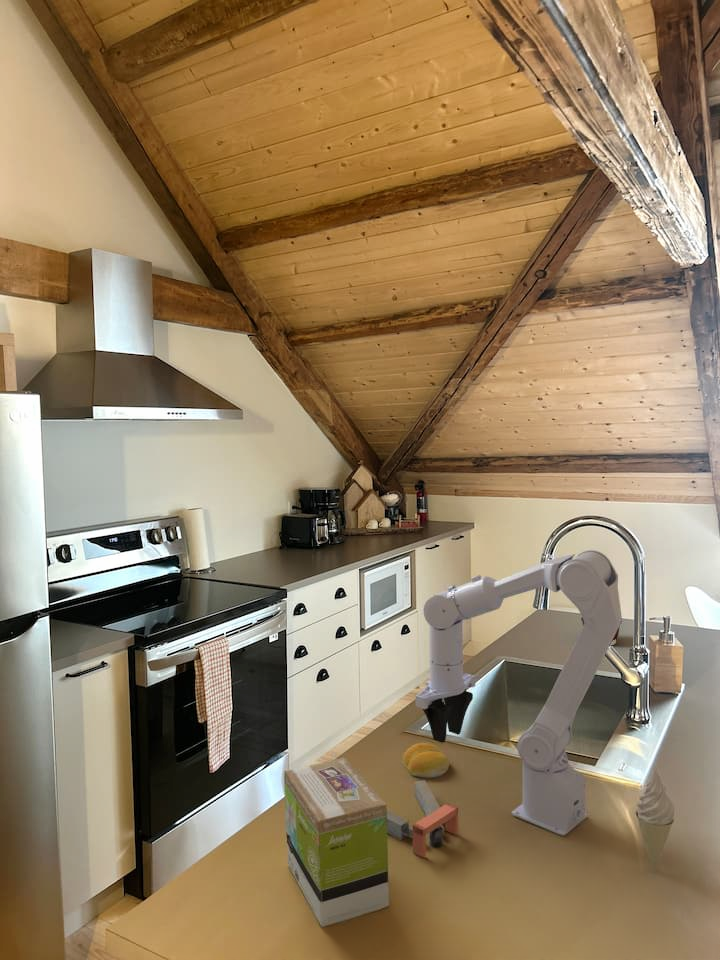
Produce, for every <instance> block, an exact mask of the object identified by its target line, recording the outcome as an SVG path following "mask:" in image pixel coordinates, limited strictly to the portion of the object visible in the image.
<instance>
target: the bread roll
mask: <svg viewBox="0 0 720 960" xmlns="http://www.w3.org/2000/svg"><path fill="white" fill-rule="evenodd" d="M402 762H403V765H404V767H406V769H407V771H408V772H409V773H410V775H411V776H414V777H419V778H427V779H431V778H432V779H434V778H438V777H440V776H443V775H444V774H445V773H446V772H447V771H448V770H449V767H450V759H449V758H448V757H447V755H445V754H444V752H443V751H442V750H441V749H440V748H439V747H438V746H436V745H435V744H433V743H429V742H418V743H415V744H413V745H411V746H410V747H408V748H407V749H406V751H404V753H403V755H402Z"/></svg>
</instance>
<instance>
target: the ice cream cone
mask: <svg viewBox="0 0 720 960" xmlns="http://www.w3.org/2000/svg"><path fill="white" fill-rule="evenodd" d="M666 789H667V788H666V786H664V784H663V782H662V780H661V778H660V775H659V772H658V770H657V768H656V769H655V770H654V773H653V775H652V777H651V779H650V780H649V782H648V783H647V784H646V789H645V791H644V792H643V795H640V796H639V797H638V798H639V800H640V801H641V802H637V805H636V806H637V807H638V808H637V809H636V811H635V816H636V818H637V821H638V825H639V830H640V832H641V835H642V836H641V837H642V839H643V843H644V846H645V850H646V854H647V857H648V861H649V865H650V867H651V868H650V869H651V871H652V872H654V873H655V872H657V869H658V866H659V863H660V862H661V861H660V860H661V858H662V856H663V852H664V848H665V845H666V843H667V839H668V837H669V833H670V830H671V827H672V825H673V823H674V820H675V819H674V818H675V817H674V816H675V805H674V803H673V801H672V799H670V797H669V796H668V795H667V790H666Z"/></svg>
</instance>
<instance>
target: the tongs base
mask: <svg viewBox="0 0 720 960" xmlns="http://www.w3.org/2000/svg"><path fill="white" fill-rule="evenodd" d="M409 824H410V823H409V820H408V819H406V818H403V817H402V816H400V815H397V814H395V813H393V812H391V811H389V810H387V835H390V836H392V837H393V838H396V839H398V840H400V841H403V840H404V839H406V838H408V837H411V838H413V825H409ZM428 834H429V846H430V847H432V848H437V849H438V848H441V847H442V846H443V844H444V842H443V841H444V839H443V837H444V834H443V828H442V827H441V826H439V827H437V828H435V829H434V830H432V831H431V832H429V833H428Z"/></svg>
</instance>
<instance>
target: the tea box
mask: <svg viewBox="0 0 720 960" xmlns="http://www.w3.org/2000/svg"><path fill="white" fill-rule="evenodd" d="M283 775H284V776H283V777H284V779H283V780H284V783H283V784H284V786H283V787H284V802H285V803H284V806H285V810H284V811H285V832H286V833H285V834H286V857H287V859H286V860H287V865H288V866H289V869H290V871H291V873H292V875H293V876H294V878H295V880H296V882H297V884H298V886H299V888H300V890H301V891H302V893H303V895H304V897H305V899H306V901H307V903H308V905H309V906H310V908H311V911H312V912H313V914H314V916H315V918H316V920H317V921H318V923H319V925H320V927H321V928H325V927H327V926H332V925H334V924H338V923H341V922H345V921H347V920H348V921H349V920H350V919H351V920H352V919H354V918H358V917H360V916H363V915H367V914H370V913H374V912H376V911H379V910H383V909H384V908H388V907H389V905H390V904H389V897H390V896H389V894H390V893H389V892H390V888H389V886H390V885H389V857H388V855H389V851H388V833H387V811H388V810H387V803H386V802H385V801H384V800H383V799H382V798H381V797H380V796H379V794H378V793H377V792H376V791H375V790H374V789H373V787H371V786H370V784H369V783H368V782H367V781H366V780H365V779H364V778H363V776H362V775H361V774H360V773H359V772H358V771H357V770H356V769H355V767H354V766H353V765H352V764H351V763H350V762H349V761H348V759H347V758H346V757H342V758H337V759H331V760H328V761H325V762H324V761H323V762H320V763H315V764H311V765H306V766H302V767H298V768H294V769H289V770H284V773H283Z"/></svg>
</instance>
